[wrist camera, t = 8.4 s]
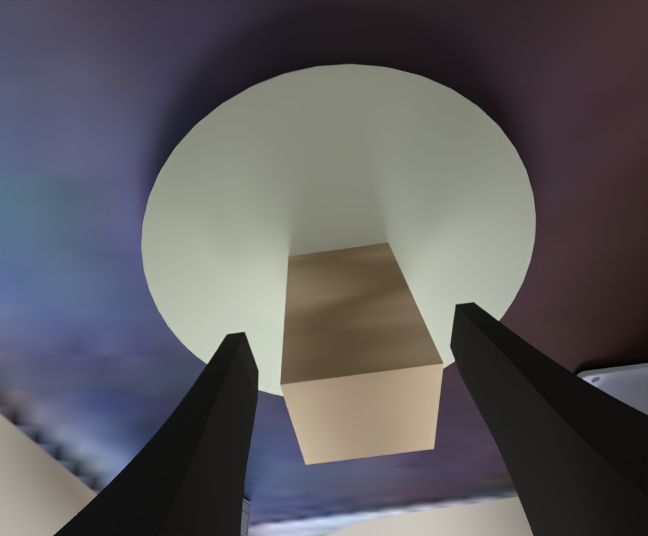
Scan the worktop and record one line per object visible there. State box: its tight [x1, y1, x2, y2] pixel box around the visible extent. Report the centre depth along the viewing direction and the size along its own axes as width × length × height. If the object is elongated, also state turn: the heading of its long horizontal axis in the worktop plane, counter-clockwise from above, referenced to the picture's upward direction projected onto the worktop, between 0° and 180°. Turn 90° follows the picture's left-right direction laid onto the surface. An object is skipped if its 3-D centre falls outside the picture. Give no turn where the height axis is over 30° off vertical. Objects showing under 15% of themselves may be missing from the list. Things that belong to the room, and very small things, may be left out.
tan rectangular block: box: [280, 243, 444, 465], centre depth 12 cm, size 4×4×6 cm
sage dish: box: [141, 64, 536, 396], centre depth 15 cm, size 16×16×2 cm
